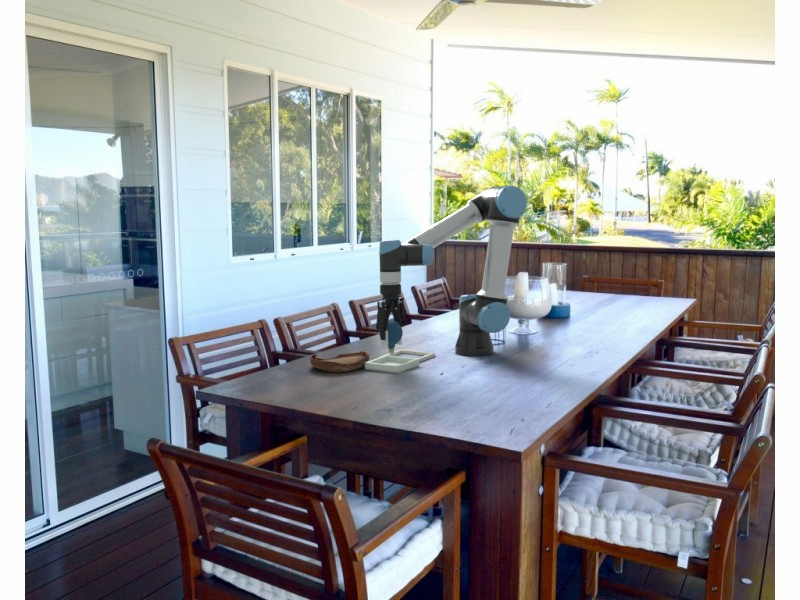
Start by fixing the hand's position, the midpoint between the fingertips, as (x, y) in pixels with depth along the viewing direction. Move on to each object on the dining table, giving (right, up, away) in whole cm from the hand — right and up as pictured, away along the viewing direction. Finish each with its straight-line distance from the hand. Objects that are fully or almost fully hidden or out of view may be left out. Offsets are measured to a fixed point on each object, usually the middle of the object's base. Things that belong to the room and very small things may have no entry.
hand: (391, 346), depth 249 cm
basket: (-18, -8, +4) cm, 21 cm away
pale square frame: (+6, -5, +17) cm, 19 cm away
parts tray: (0, -8, +1) cm, 8 cm away
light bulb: (0, -3, 0) cm, 3 cm away
